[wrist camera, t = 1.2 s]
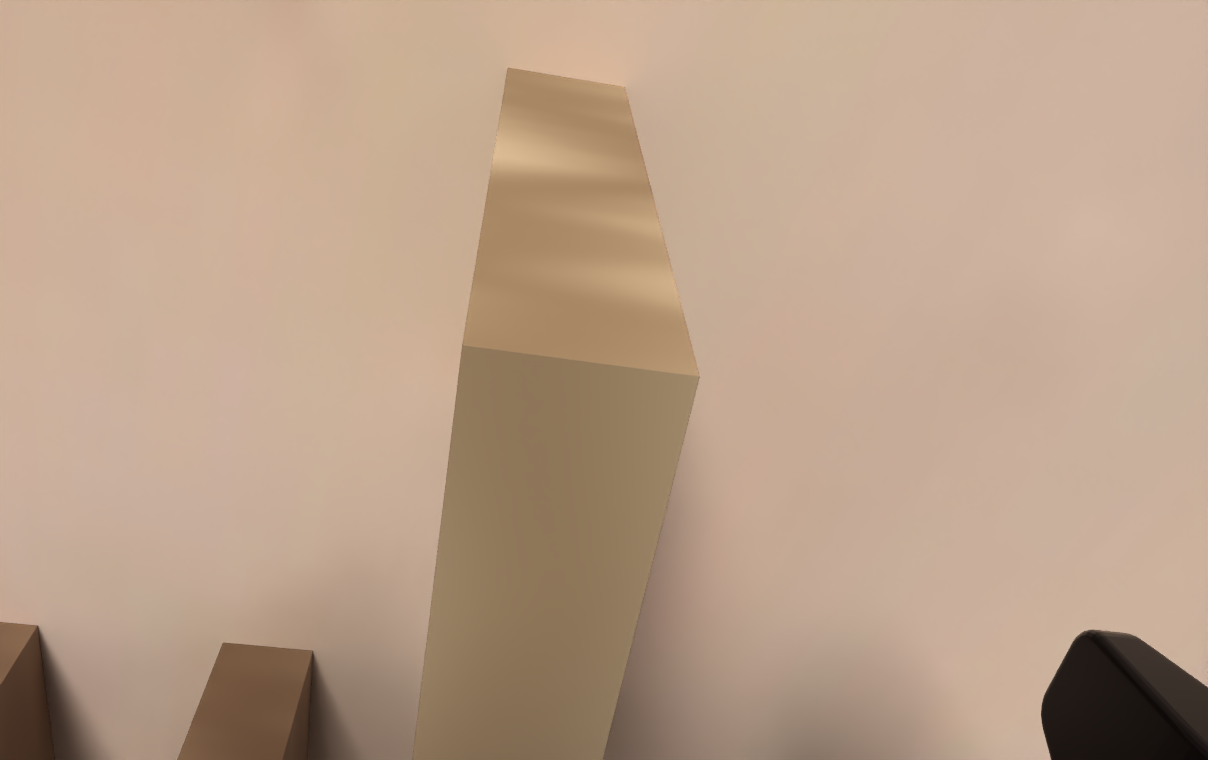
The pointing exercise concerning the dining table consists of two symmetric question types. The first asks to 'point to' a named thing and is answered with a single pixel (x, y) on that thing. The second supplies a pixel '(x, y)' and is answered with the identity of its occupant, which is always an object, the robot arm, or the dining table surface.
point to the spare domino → (555, 436)
